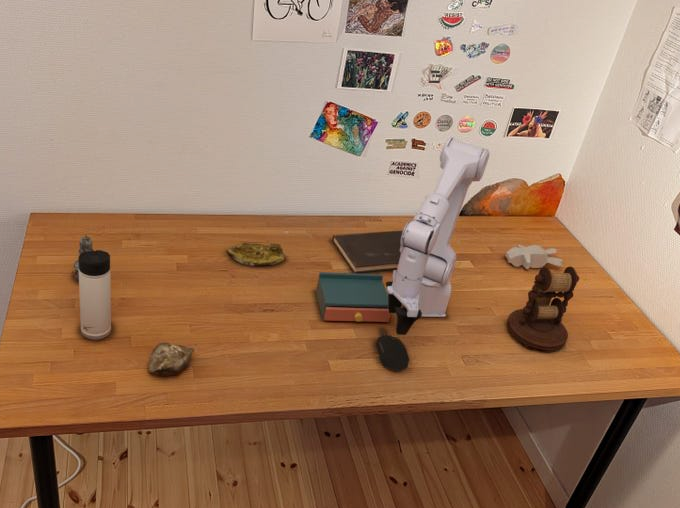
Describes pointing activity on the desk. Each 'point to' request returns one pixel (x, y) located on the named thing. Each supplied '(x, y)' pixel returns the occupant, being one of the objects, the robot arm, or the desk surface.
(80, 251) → the grey stone figurine
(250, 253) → the mossy rock
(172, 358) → the rock
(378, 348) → the gaming mouse
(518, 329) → the brown round-based upright piece
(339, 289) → the teal drawer box
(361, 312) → the drawer
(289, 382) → the desk surface
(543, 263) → the bunny figurine
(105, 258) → the travel mug
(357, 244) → the hardcover book
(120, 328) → the desk surface
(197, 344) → the desk surface
